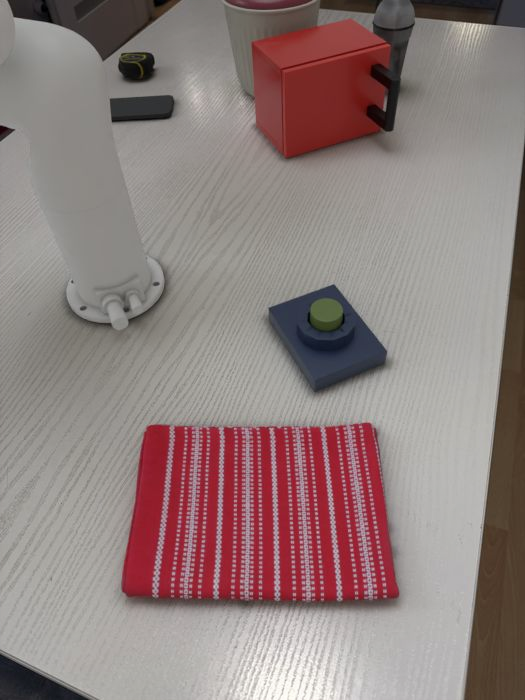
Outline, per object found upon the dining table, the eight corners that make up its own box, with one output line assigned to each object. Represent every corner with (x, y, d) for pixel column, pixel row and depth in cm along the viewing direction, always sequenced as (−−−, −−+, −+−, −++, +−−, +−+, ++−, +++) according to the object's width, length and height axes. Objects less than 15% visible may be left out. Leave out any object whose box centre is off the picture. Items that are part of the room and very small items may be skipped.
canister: (340, 90, 103) (349, -42, 87) (262, 121, 97) (255, -15, 81) (285, 59, 113) (283, -65, 97) (210, 85, 107) (195, -42, 91)
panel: (385, 363, 61) (389, 340, 58) (314, 392, 59) (315, 370, 56) (333, 296, 69) (335, 272, 65) (268, 320, 67) (267, 296, 63)
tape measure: (157, 67, 114) (153, 48, 111) (151, 82, 109) (147, 63, 106) (125, 68, 114) (120, 49, 111) (118, 83, 110) (113, 64, 107)
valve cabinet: (376, 128, 94) (387, 41, 83) (282, 155, 90) (281, 68, 79) (344, 101, 100) (350, 18, 90) (256, 126, 96) (251, 41, 86)
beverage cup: (357, 90, 103) (369, -34, 87) (380, 77, 106) (394, -46, 91) (390, 102, 100) (407, -25, 84) (412, 87, 103) (433, -38, 87)
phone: (96, 99, 104) (173, 94, 103) (97, 103, 105) (174, 98, 104) (88, 118, 99) (170, 113, 99) (90, 122, 100) (170, 118, 99)
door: (401, 148, 89) (415, 61, 79) (303, 177, 85) (304, 90, 75) (377, 128, 94) (387, 43, 83) (283, 155, 90) (281, 70, 79)
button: (347, 325, 61) (349, 314, 59) (319, 336, 60) (319, 325, 58) (332, 304, 63) (332, 294, 61) (304, 315, 62) (304, 304, 61)
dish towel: (149, 429, 57) (144, 416, 55) (375, 428, 56) (378, 414, 54) (119, 602, 46) (111, 593, 44) (398, 605, 45) (403, 596, 43)
